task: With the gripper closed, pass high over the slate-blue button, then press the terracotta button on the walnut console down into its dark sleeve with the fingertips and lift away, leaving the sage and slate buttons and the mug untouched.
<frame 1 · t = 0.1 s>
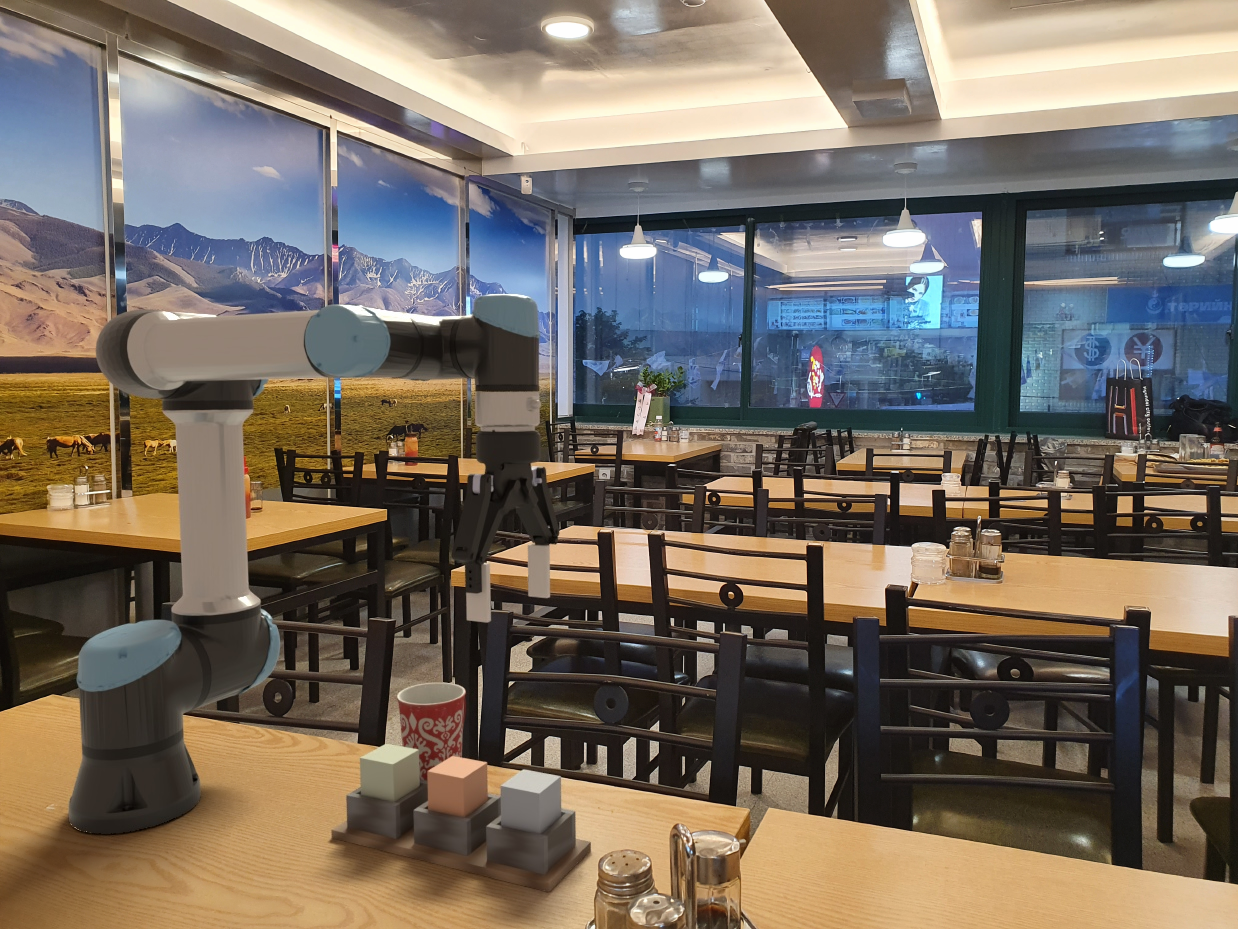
hand: (510, 608, 108), 28 cm above the table, tool pointing down, fingers open, 13 cm apart
slate button: (531, 806, 103), point 6 cm above the table, slide at 0.0 cm
mug: (440, 786, 125), on the table
sage button: (390, 777, 112), point 6 cm above the table, slide at 0.0 cm
console: (459, 844, 108), on the table
terracotta button: (458, 791, 107), point 6 cm above the table, slide at 0.0 cm
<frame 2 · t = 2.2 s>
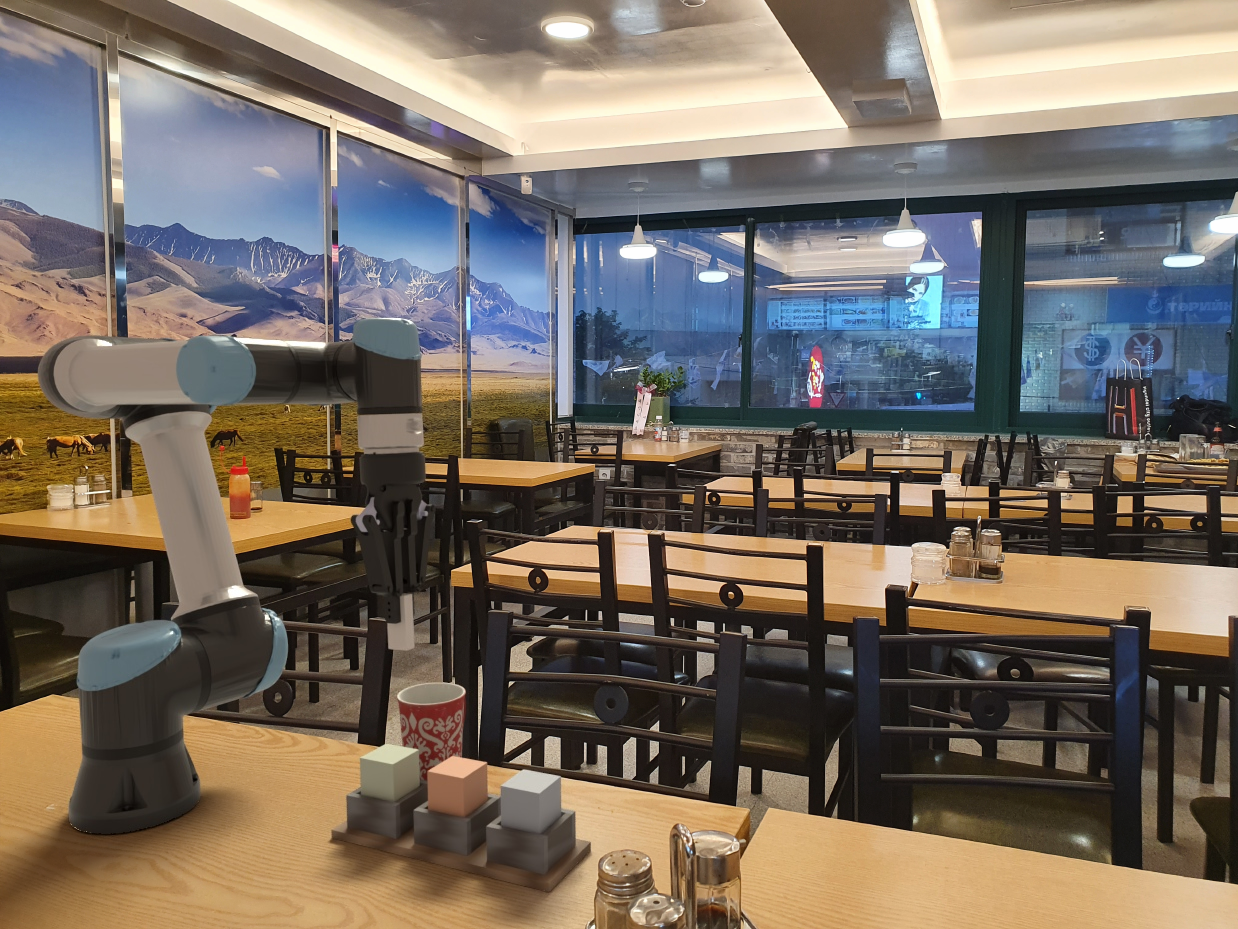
hand: (401, 648, 108), 23 cm above the table, tool pointing down, fingers closed
nothing on the table moved.
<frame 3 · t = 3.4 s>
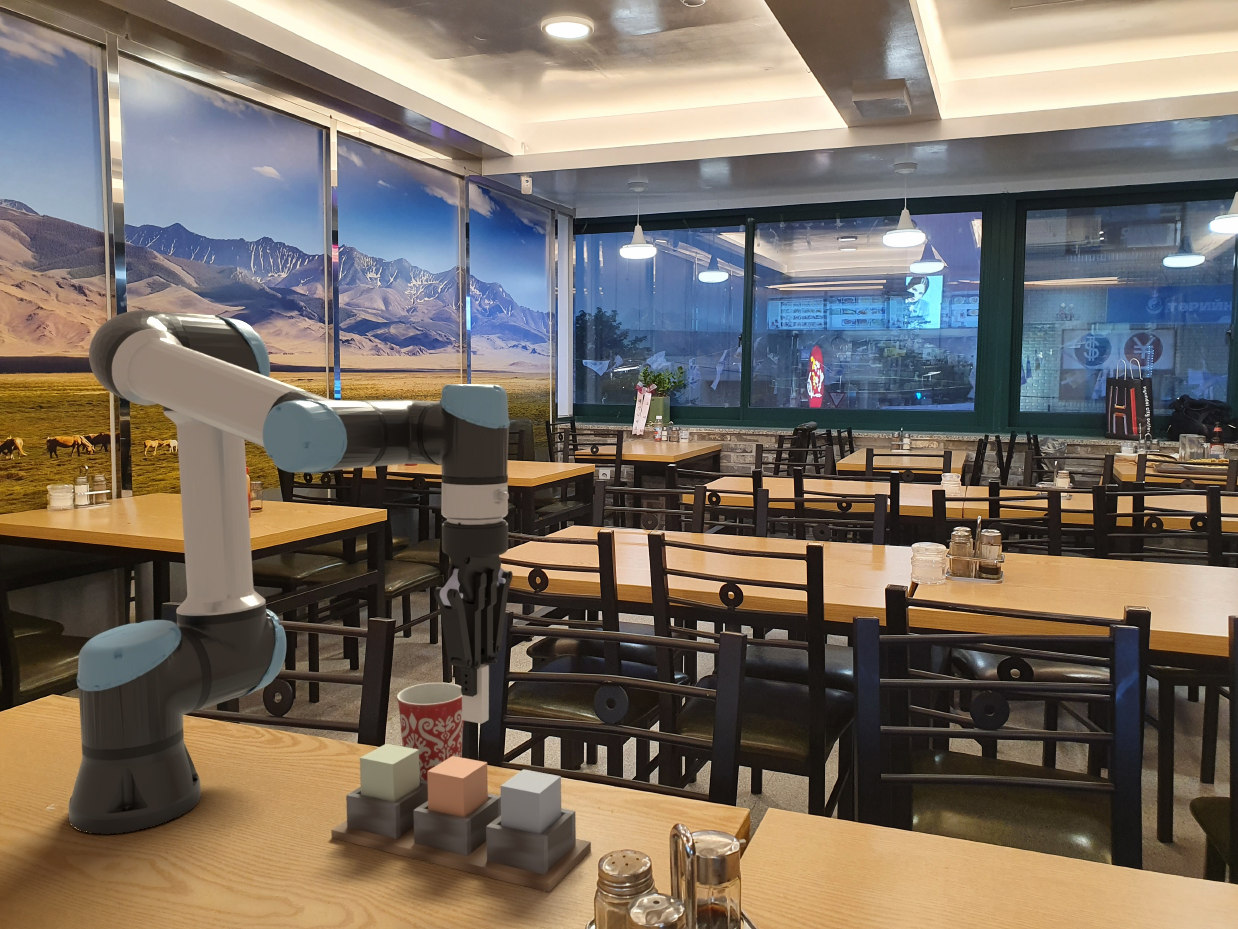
hand: (475, 719, 106), 15 cm above the table, tool pointing down, fingers closed
nothing on the table moved.
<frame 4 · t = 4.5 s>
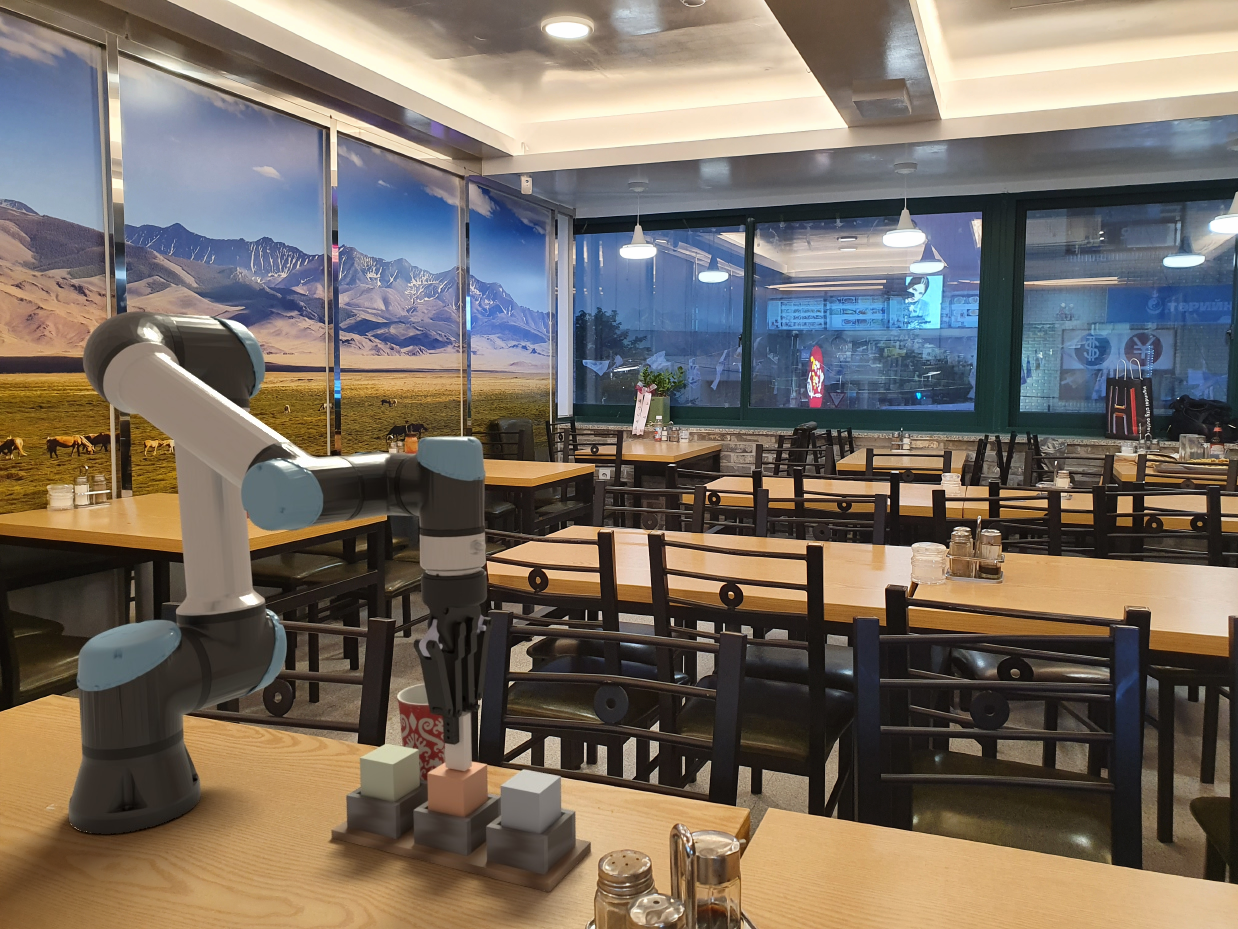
hand: (458, 766, 107), 9 cm above the table, tool pointing down, fingers closed
terracotta button: (458, 793, 107), point 6 cm above the table, slide at 0.2 cm, touching gripper
everything else where it was.
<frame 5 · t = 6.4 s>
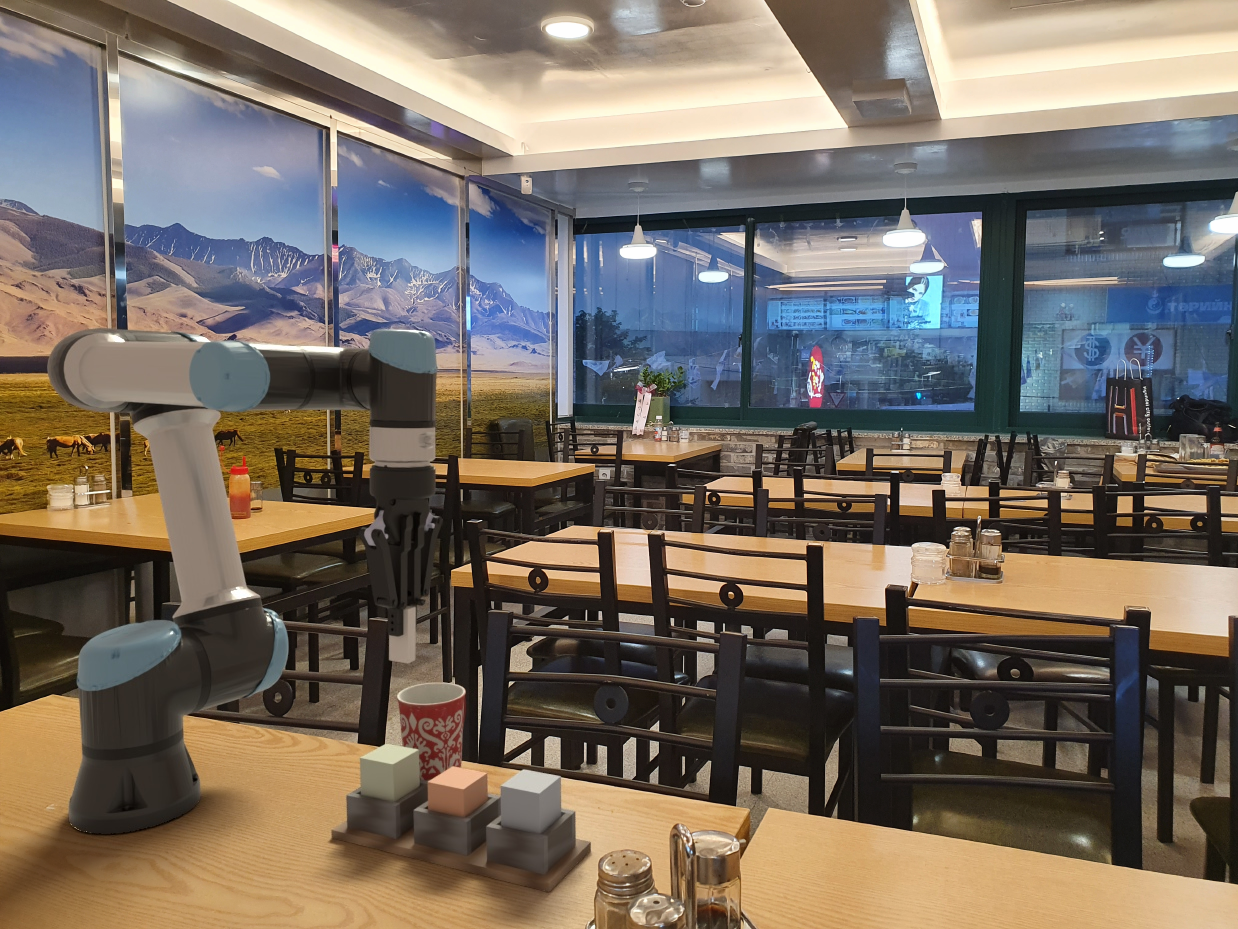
hand: (402, 660, 108), 22 cm above the table, tool pointing down, fingers closed
terracotta button: (458, 802, 107), point 5 cm above the table, slide at 1.3 cm
everything else where it was.
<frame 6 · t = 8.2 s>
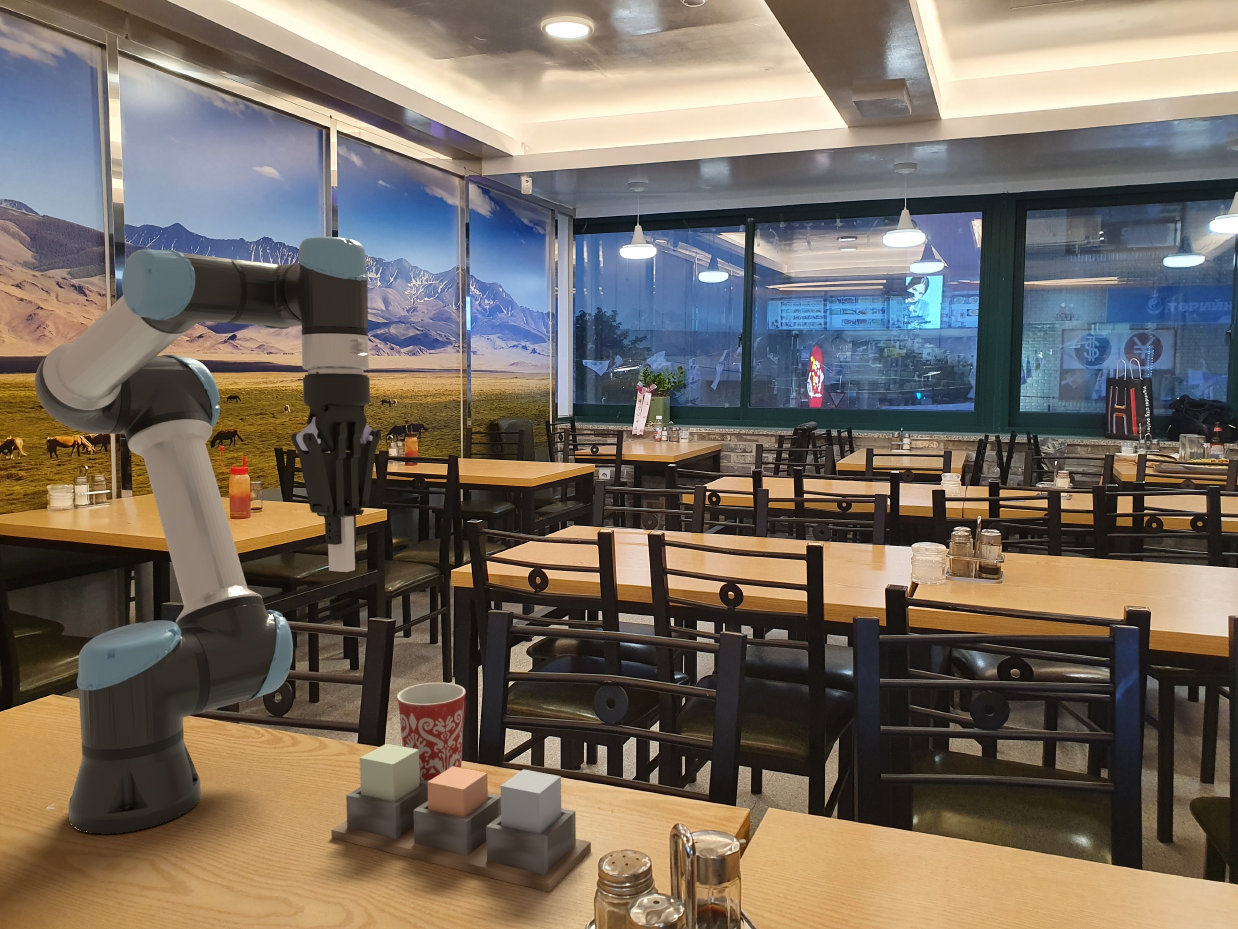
hand: (342, 570, 109), 32 cm above the table, tool pointing down, fingers closed
nothing on the table moved.
at the end: terracotta button slide at 1.3 cm; slate button slide at 0.0 cm; sage button slide at 0.0 cm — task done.
